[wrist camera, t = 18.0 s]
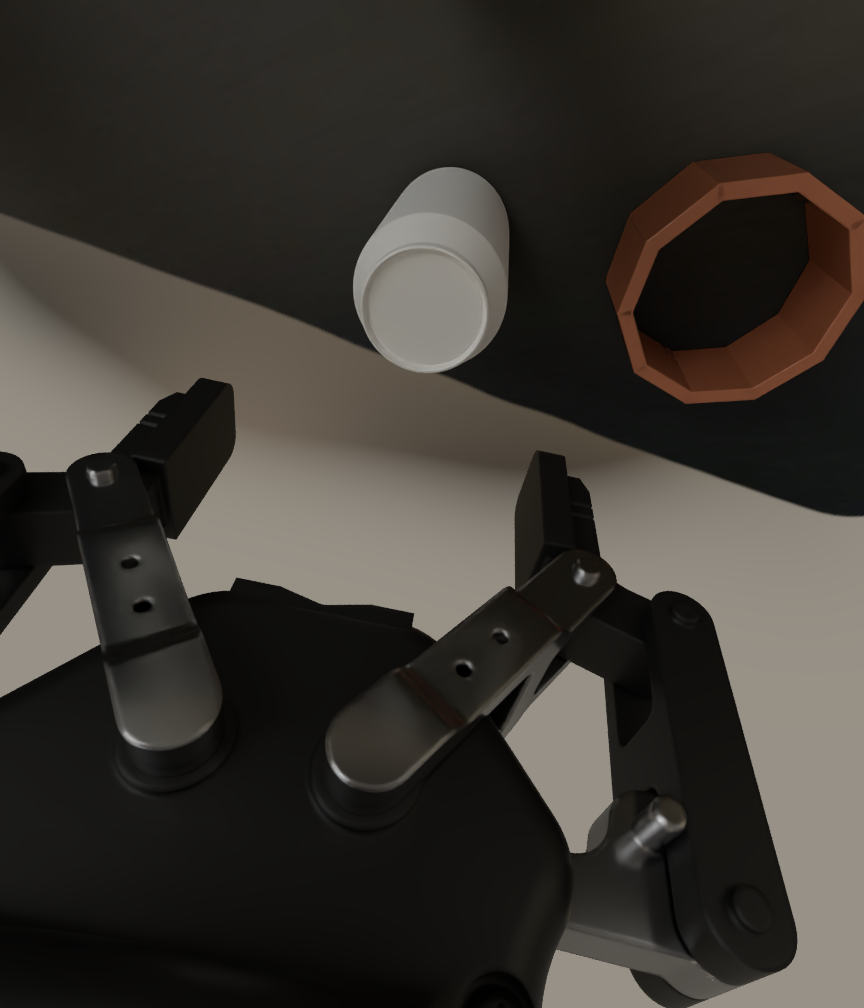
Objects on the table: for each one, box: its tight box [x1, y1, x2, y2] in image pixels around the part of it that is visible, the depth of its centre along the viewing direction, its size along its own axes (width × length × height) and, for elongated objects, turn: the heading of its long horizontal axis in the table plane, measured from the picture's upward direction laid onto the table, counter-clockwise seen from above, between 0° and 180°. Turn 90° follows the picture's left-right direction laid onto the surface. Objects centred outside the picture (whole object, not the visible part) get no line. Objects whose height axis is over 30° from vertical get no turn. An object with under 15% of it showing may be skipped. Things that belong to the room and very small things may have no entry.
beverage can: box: [353, 167, 509, 373], centre depth 26 cm, size 6×6×12 cm
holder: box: [605, 153, 864, 404], centre depth 29 cm, size 10×11×5 cm
